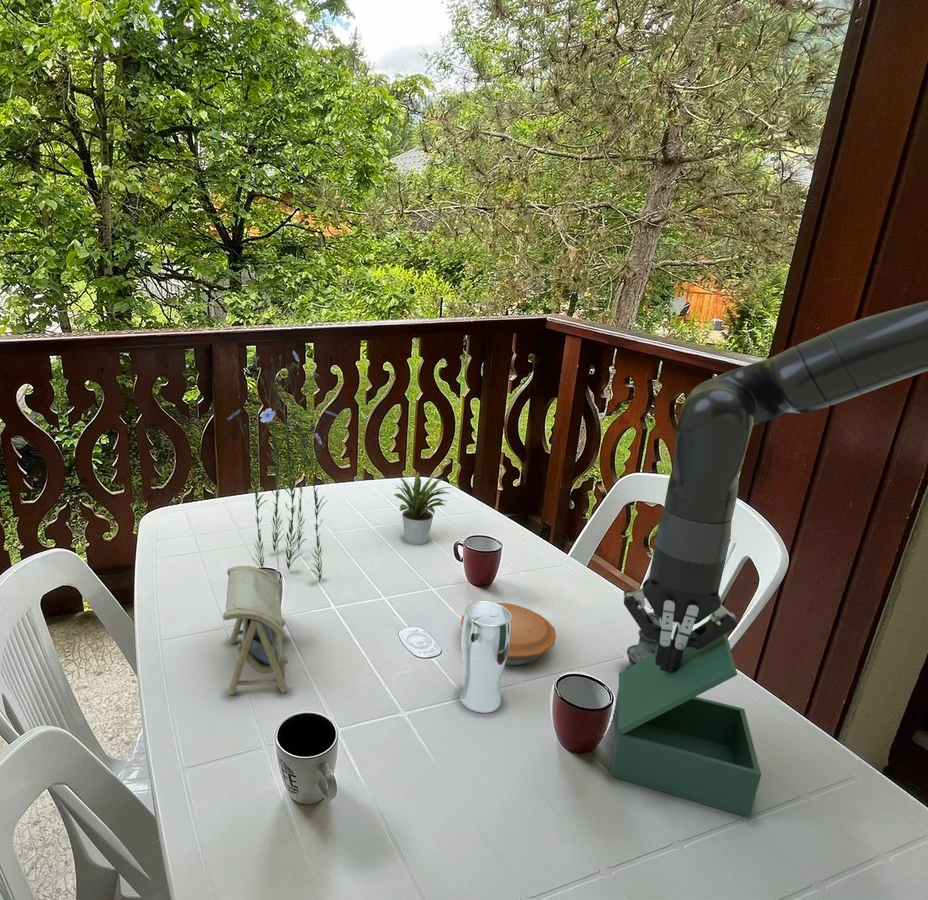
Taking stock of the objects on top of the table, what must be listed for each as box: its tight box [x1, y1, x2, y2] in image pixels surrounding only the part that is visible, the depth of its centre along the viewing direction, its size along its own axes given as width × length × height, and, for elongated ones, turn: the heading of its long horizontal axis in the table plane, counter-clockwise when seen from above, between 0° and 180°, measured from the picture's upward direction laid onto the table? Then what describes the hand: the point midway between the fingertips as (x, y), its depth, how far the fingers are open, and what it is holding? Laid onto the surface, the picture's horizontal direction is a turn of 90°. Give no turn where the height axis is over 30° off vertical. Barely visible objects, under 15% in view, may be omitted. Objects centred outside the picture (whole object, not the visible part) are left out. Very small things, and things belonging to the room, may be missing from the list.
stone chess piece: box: [625, 610, 660, 670], centre depth 100 cm, size 6×6×12 cm
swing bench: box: [222, 565, 289, 696], centre depth 101 cm, size 15×10×15 cm, turn 6°
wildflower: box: [226, 350, 340, 582], centre depth 128 cm, size 22×23×45 cm
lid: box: [618, 632, 738, 734], centre depth 81 cm, size 16×12×1 cm
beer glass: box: [459, 600, 512, 714], centre depth 94 cm, size 7×7×15 cm
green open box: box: [611, 687, 762, 819], centre depth 83 cm, size 15×12×7 cm
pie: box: [461, 602, 557, 666], centre depth 108 cm, size 15×16×5 cm
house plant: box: [393, 471, 453, 545], centre depth 144 cm, size 14×14×16 cm
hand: (666, 668), depth 82 cm, fingers closed
